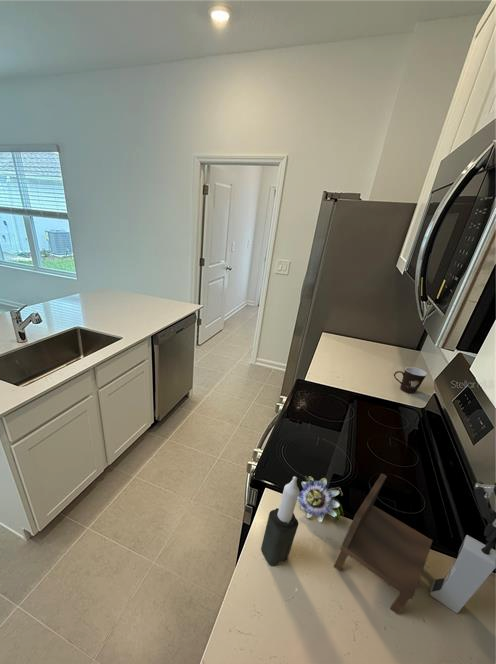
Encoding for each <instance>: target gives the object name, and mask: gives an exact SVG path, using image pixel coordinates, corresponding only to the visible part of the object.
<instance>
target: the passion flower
mask: <svg viewBox="0 0 496 664" xmlns="http://www.w3.org/2000/svg"><path fill="white" fill-rule="evenodd" d="M304 478H305V481H301V482H300V483H301V486H302V490H301V491H299V495H298V498H297V501H298V502H299V504H300V505H299V510H300V511H304V512H305V518H306V519H311V518H312V517H313V516H315V517H316V520H317V521H318V522H319V523H322V522H323V521H324V519H325V516H326V515H329V516H331V517H332V518H334V521H335V522H336V521H337V522H338V521H340V520H341V517H344V508H343V505H342V503H341V502H340V501H339V500H338V499H337V498H336V497H337V496H339V495H340V497H343V496H344V493H343V491H342V488H341V487H339V486H338V487H332V488H328V487H327V485H328V479H327V478H326V477H322V478H320V480H315V479H314V478H313V477H312V476H310V475H309V476H307V475H304ZM337 489H338V490H337Z"/></svg>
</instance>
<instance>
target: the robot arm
mask: <svg viewBox="0 0 496 664" xmlns="http://www.w3.org/2000/svg"><path fill="white" fill-rule="evenodd" d="M493 493H494V496H495V497H496V482H495V483H494V484H485V483H484V482H482V481H481V480H480V481H479V480H477V481H475V483H474V486H473V494H474V496H475V500H476V503H477V506H478V509H479V512H480V515H481V517H482V518H483V519H485V520H488V521H489V522H488V524H487V525H486V526H485V527H484V531H483V536H484V537H485V540H486V541H487V542H492V541H493V540H494V538H495V537H496V511H495V510H494V509H493V507H492V503H491V501H490V498H491V497H492V494H493Z"/></svg>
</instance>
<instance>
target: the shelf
mask: <svg viewBox="0 0 496 664" xmlns="http://www.w3.org/2000/svg"><path fill="white" fill-rule="evenodd" d="M387 477H388V476H387V475H386V474H385V473H380V475H379V477H378V478H377V480H376V481H375V482H374V485H373V486H372V488H371V489H370V491H369V492H368V494H367V495H366V497H365V499H364V500H363V502H362V503H361V505H360V507H359V508H358V510H357V511H356V513H355V514H354V517H353V518H352V521H351V523H350V524H349V525H350V526H349V528H348V530H347V532H346V535H345V537H344V538H343V541H342V543H341V546H340V548H339V550H340V551H339V554H338V556H337V558H336V560H335V562H334V565H333V567H334V568H335V569H337V570H338V571H339V572H340V571H341V570H342V568H343V567H344V565H345V563H346V560H347V559H348V557H350V558H351V559H352V560H354V561H355V562H357V563H358V564H359V565H361V566H363V567H364V568H365V569H367V570H368V571H369V572H371V573H372V574H374V575H375V576H377V577H378V578H379V579H381V580H382V581H384V582H385V583H386V584H388V585H389V586H391V587H392V588H393V589H395V590H396V591H398V592H399V593H398V594H397V595H396V597H395V598H394V600H393V601H392V603H391V605H390V606H389V607H390V608H389V610H390V611H392V612H394V614H396V615H399V614H400V612H401V611H402V610H403V608H404V607H405V606H406V605H407V603H408V601H409V600H410V601H411V600H413V598H414V597H415V596H416V591H417V589H418V587H419V583H420V580H421V576H422V575H423V571H424V568H425V565H426V563H427V559H428V556H429V553H430V549H431V547H432V544H433V539H431V538H429V537H428V536H426V535H424V534H422V533H421V532H419V531H417V530H416V529H414V528H412V527H411V526H409V525H407V524H406V523H404V522H402V521H401V520H399V519H397V518H395V517H394V516H392V515H390V514H389V513H387V512H385V511H384V510H382V509H381V508H378V507H377V506H375V505H374V504H375V502H376V500H377V499H378V496H379V494H380V492H381V490H382V487H383V485H384V483H385V481H386V479H387Z"/></svg>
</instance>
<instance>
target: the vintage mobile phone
mask: <svg viewBox="0 0 496 664" xmlns="http://www.w3.org/2000/svg"><path fill="white" fill-rule="evenodd" d="M495 546H496V537H495V538H494V540H493V541H492V542H489V541H487V543H486V544H484V543H483V542H481V541H480V540H477V539H475V538H474V537H472V536H470V535H468V534H466V535H465V537H464V539H463V540H462V543H461V545H460V547H459V550H458V554H457V557H456V561H455V562H454V563H453V564H452V566H451V567H450V569H449V570H448V572H447V573H446V574H445V576H444V577H441V578H436V579H435V580H434V581H433V583H432V585H431V589H430V591H429V596H431V597H432V598H434V599H435V600H436V601H438V602H439V603H440V604H442V605H444V607H447V608H448V609H449V610H451V611H452V612H454V613H456V614H458V613H459V612H460V611H461V610H462V608H464V607H465V605H466V604H467V603H468V601H469V600H470V599H471V598H472V597H473V595H474V594H475V593H476V592H478V589H479V588H480V587H481V586H482V585H483V583H484V582H485V581H486V580H487V579H488V578H489V576H491V574H492V573H493V572H494V570H496V550H495V549H493V548H494V547H495Z"/></svg>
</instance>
